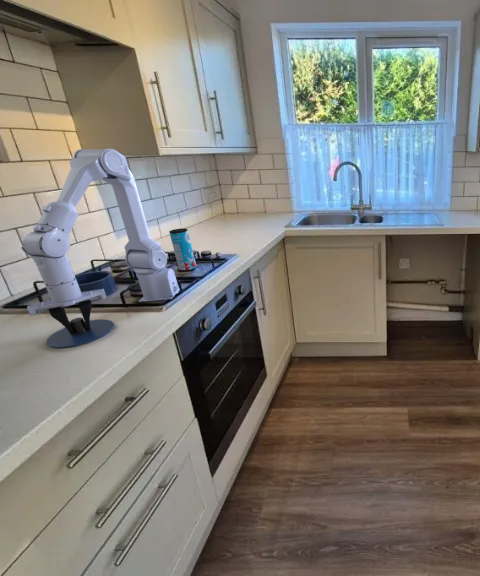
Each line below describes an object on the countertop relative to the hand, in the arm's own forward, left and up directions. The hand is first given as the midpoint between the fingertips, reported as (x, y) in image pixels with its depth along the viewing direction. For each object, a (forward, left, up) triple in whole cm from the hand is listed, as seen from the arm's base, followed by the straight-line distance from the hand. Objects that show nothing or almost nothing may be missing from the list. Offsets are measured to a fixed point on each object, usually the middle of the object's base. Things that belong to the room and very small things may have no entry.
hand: (80, 331), depth 91 cm
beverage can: (-12, -47, -2) cm, 49 cm away
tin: (+12, -30, -1) cm, 32 cm away
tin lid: (0, 0, -1) cm, 1 cm away
